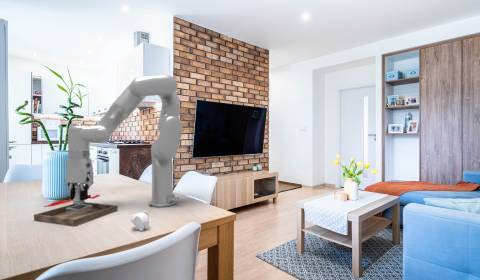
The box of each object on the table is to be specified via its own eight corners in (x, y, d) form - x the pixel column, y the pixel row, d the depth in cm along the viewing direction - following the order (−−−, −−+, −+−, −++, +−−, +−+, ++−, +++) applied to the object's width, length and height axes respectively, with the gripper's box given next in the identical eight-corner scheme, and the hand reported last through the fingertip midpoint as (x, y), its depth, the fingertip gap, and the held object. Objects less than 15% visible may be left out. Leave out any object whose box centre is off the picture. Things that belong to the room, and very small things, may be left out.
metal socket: (92, 210, 109) (92, 205, 109) (78, 215, 102) (78, 209, 102) (80, 209, 111) (80, 203, 111) (65, 214, 104) (65, 208, 104)
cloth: (44, 211, 114) (44, 205, 114) (39, 205, 123) (39, 200, 123) (107, 200, 132) (107, 196, 132) (98, 196, 142) (98, 192, 142)
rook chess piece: (76, 202, 109) (76, 183, 108) (87, 201, 109) (87, 183, 109) (70, 204, 104) (70, 185, 104) (81, 204, 105) (81, 185, 104)
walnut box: (117, 212, 110) (117, 205, 110) (74, 228, 90) (74, 220, 90) (81, 208, 115) (81, 201, 115) (34, 222, 96) (34, 214, 96)
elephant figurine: (141, 224, 96) (141, 208, 95) (156, 228, 92) (156, 211, 91) (124, 229, 90) (124, 213, 90) (140, 234, 86) (140, 216, 86)
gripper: (102, 155, 107) (102, 199, 108) (71, 154, 112) (71, 195, 113) (87, 156, 100) (87, 203, 101) (55, 155, 105) (55, 199, 105)
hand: (79, 198), depth 107 cm, fingers closed on rook chess piece, 4 cm apart
